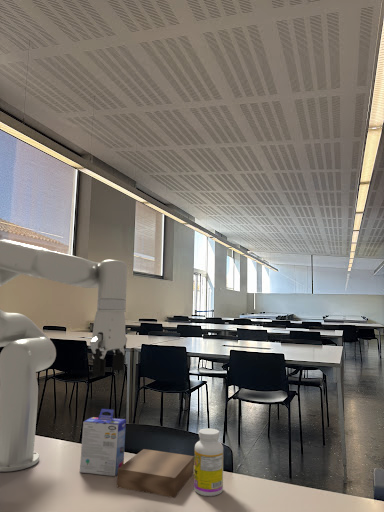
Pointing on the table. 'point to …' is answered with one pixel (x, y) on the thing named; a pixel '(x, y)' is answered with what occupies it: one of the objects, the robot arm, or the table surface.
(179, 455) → the walnut block
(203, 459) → the supplement bottle
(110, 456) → the ink cartridge box
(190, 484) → the table surface
